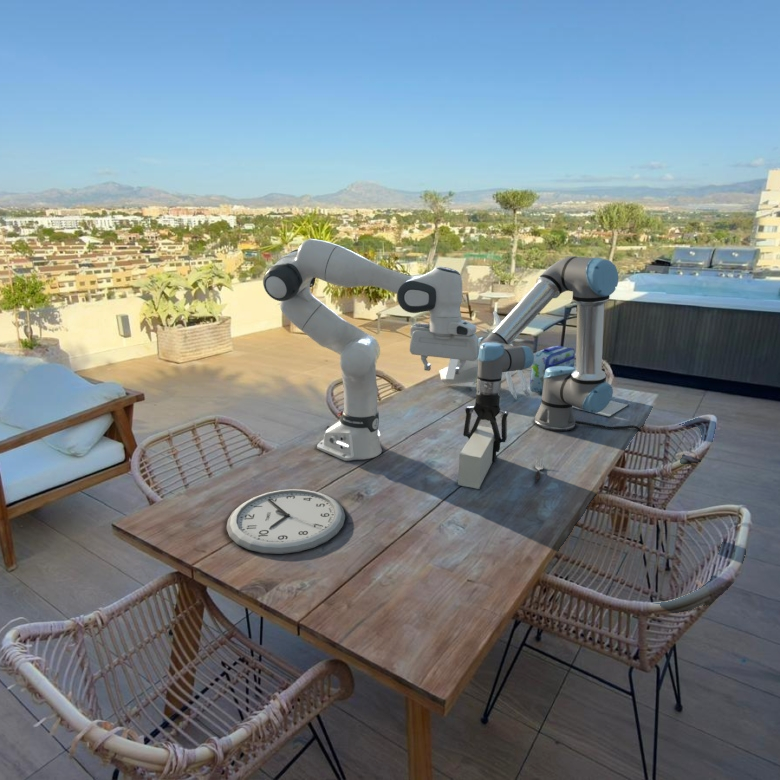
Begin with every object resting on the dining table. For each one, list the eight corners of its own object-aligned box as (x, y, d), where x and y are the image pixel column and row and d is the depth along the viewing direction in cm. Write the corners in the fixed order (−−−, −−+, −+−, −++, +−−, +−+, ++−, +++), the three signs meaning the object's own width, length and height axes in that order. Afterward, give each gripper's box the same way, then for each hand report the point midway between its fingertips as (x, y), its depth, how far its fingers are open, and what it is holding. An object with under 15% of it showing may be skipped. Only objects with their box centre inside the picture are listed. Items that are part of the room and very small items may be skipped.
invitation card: (608, 416, 214) (573, 407, 224) (608, 416, 214) (573, 408, 224) (628, 404, 229) (594, 396, 238) (628, 405, 229) (594, 397, 238)
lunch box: (546, 399, 235) (551, 353, 228) (525, 393, 242) (530, 349, 236) (574, 387, 252) (579, 345, 246) (553, 383, 260) (558, 341, 253)
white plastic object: (461, 429, 252) (437, 405, 227) (444, 352, 274) (420, 323, 250) (535, 404, 240) (518, 377, 215) (510, 326, 262) (492, 293, 237)
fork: (531, 484, 156) (531, 478, 156) (536, 462, 170) (536, 457, 170) (540, 485, 155) (541, 479, 155) (544, 464, 170) (545, 458, 169)
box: (476, 453, 177) (478, 425, 174) (495, 456, 175) (497, 428, 172) (457, 484, 155) (459, 453, 152) (478, 489, 153) (481, 457, 150)
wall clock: (345, 545, 122) (213, 550, 119) (345, 551, 122) (214, 556, 120) (344, 484, 150) (238, 487, 148) (345, 490, 151) (239, 492, 148)
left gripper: (407, 324, 151) (405, 370, 155) (477, 330, 143) (473, 378, 148) (414, 320, 156) (412, 365, 160) (482, 326, 149) (478, 373, 153)
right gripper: (455, 391, 166) (451, 457, 173) (517, 399, 159) (510, 468, 166) (461, 384, 172) (457, 449, 179) (521, 392, 166) (514, 458, 172)
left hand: (442, 372), depth 154 cm, fingers open, 8 cm apart
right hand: (483, 458), depth 172 cm, fingers closed on box, 6 cm apart
